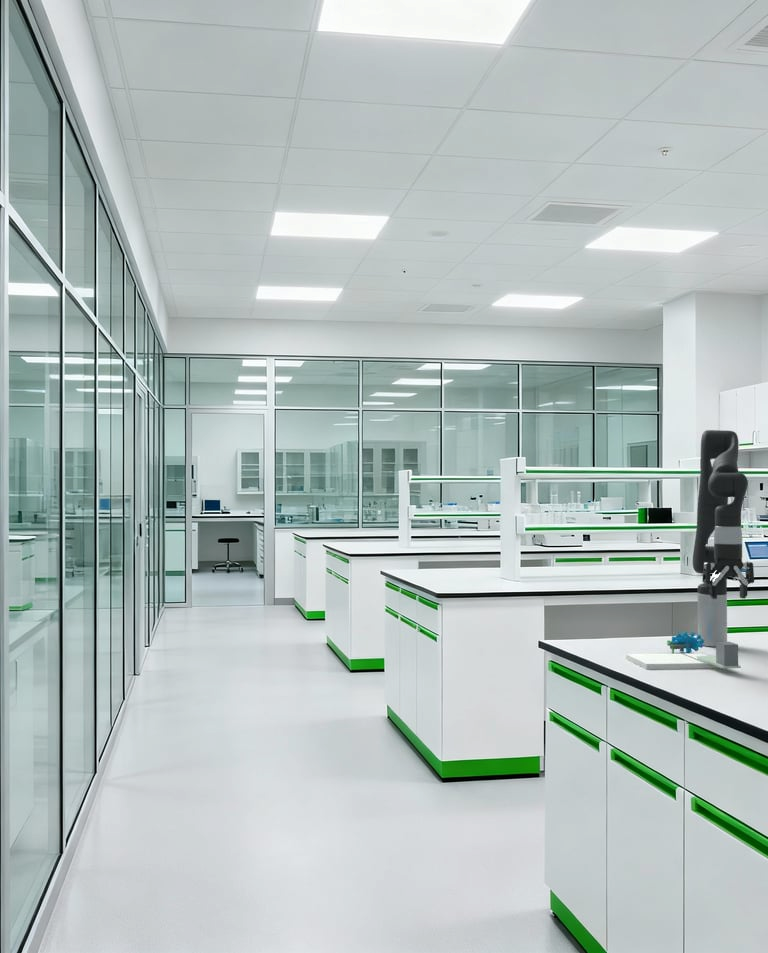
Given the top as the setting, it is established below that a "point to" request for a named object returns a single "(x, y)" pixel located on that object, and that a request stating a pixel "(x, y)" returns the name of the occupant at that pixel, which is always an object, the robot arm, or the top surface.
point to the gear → (685, 642)
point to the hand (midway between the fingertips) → (728, 598)
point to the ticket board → (669, 661)
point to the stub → (723, 655)
